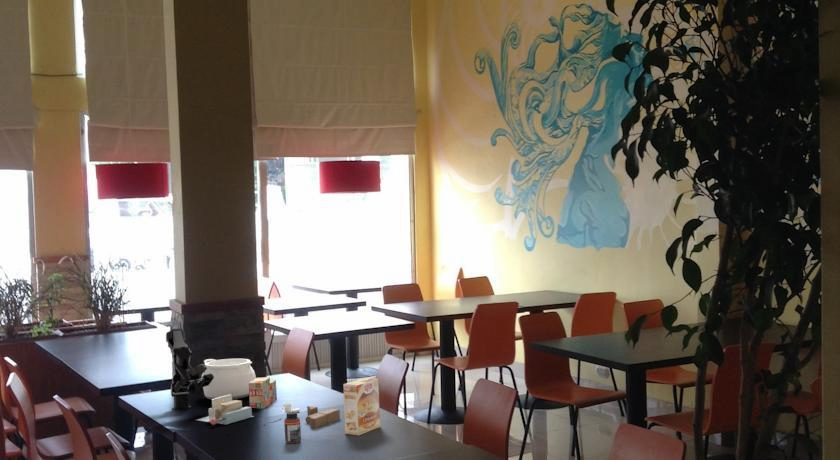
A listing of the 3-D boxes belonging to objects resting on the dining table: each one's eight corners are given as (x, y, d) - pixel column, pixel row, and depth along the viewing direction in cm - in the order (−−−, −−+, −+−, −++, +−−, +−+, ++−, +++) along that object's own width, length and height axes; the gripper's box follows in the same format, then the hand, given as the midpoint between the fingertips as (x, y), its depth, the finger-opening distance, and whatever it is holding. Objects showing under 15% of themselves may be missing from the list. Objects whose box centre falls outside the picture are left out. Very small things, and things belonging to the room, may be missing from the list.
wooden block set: (341, 406, 361) (315, 416, 345) (341, 419, 361) (316, 430, 345) (308, 403, 369) (282, 412, 353) (309, 416, 369) (282, 426, 353)
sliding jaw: (209, 420, 362) (208, 399, 362) (233, 413, 374) (233, 393, 374) (215, 421, 360) (214, 400, 360) (240, 414, 371) (239, 394, 371)
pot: (269, 392, 424) (268, 358, 423) (231, 403, 401) (229, 366, 401) (227, 388, 439) (225, 355, 439) (187, 399, 417) (186, 363, 417)
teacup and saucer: (302, 412, 379) (302, 402, 379) (292, 416, 371) (291, 406, 371) (285, 410, 382) (285, 401, 382) (275, 414, 375) (275, 405, 375)
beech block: (220, 420, 362) (219, 404, 362) (236, 416, 369) (235, 400, 369) (226, 421, 360) (225, 405, 360) (242, 417, 367) (241, 400, 367)
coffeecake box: (359, 435, 330) (356, 385, 330) (344, 433, 334) (342, 384, 334) (381, 426, 343) (379, 378, 343) (366, 425, 347) (364, 377, 347)
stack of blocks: (264, 399, 408) (263, 373, 408) (277, 399, 407) (275, 373, 407) (249, 409, 387) (248, 382, 387) (262, 409, 386) (261, 382, 386)
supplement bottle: (285, 440, 328) (284, 411, 327) (301, 439, 328) (300, 410, 328) (284, 444, 322) (283, 414, 322) (300, 443, 322) (299, 413, 322)
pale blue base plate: (184, 425, 361) (183, 413, 361) (224, 414, 379) (223, 403, 379) (214, 430, 350) (214, 417, 350) (254, 418, 368) (253, 406, 368)
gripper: (177, 362, 369) (195, 390, 363) (210, 355, 385) (228, 381, 379) (165, 379, 374) (183, 406, 368) (199, 371, 389) (217, 398, 383)
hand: (203, 397), depth 374 cm, fingers closed
